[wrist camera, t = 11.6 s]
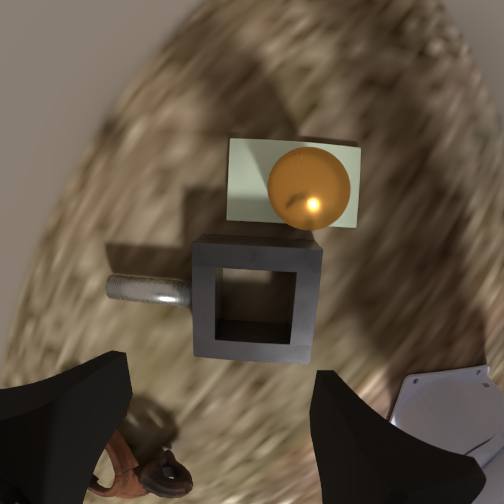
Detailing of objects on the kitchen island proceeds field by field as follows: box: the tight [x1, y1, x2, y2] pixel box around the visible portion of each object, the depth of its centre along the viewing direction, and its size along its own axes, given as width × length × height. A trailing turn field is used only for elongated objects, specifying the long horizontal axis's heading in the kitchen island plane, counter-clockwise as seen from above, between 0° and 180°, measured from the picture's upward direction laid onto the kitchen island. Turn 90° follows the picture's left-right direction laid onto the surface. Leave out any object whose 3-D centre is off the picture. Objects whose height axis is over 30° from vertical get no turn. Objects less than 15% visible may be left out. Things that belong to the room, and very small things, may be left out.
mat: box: [227, 138, 361, 228], centre depth 18 cm, size 8×5×1 cm, turn 87°
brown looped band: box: [87, 411, 193, 499], centre depth 21 cm, size 12×10×8 cm
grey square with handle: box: [106, 234, 323, 364], centre depth 19 cm, size 13×7×3 cm, turn 87°
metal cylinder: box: [267, 147, 351, 230], centre depth 15 cm, size 3×3×7 cm
